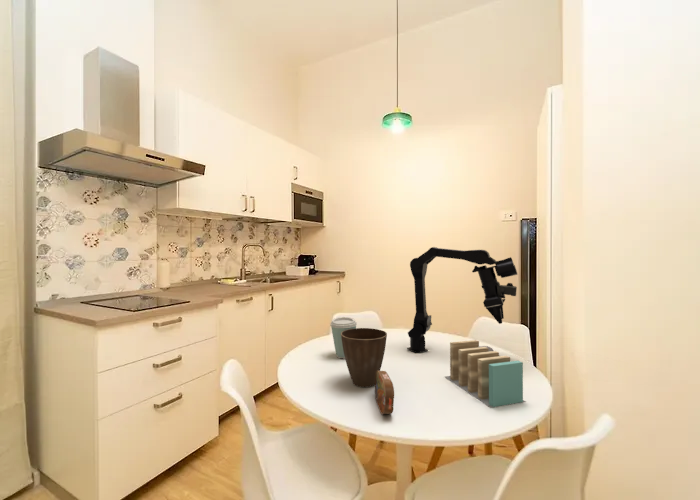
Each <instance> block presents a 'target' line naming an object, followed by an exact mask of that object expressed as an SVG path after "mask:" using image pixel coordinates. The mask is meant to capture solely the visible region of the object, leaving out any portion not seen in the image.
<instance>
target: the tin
mask: <svg viewBox="0 0 700 500" xmlns="http://www.w3.org/2000/svg"><path fill="white" fill-rule="evenodd" d="M394 389H395V387H394V384H393V381H392V379H391V378H390V376H389V374H388V372H387V371H386V370H380V371H378V370H377V371H376V375H375V385H374V397H375V401H376V403H377V406H378V409H379V412H380V414H381V415H392V414H393V412H394V401H395V400H394V399H395V390H394Z"/></svg>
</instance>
